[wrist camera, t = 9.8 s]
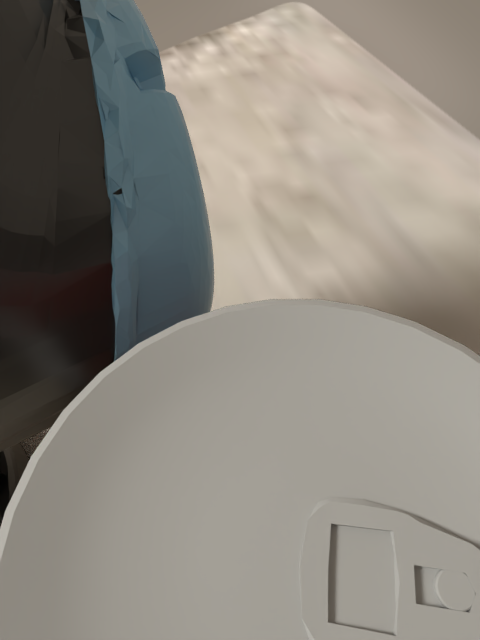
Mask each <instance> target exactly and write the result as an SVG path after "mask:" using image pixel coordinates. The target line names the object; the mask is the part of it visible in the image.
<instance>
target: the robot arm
mask: <svg viewBox="0 0 480 640" xmlns="http://www.w3.org/2000/svg"><path fill="white" fill-rule="evenodd" d="M213 292H214V262H213V249H212V240H211V233H210V226H209V220H208V214H207V209H206V204H205V199H204V193H203V189H202V185H201V180H200V176H199V172H198V167H197V163H196V159H195V155H194V151H193V147H192V144H191V140H190V137H189V133H188V129H187V126H186V123H185V120H184V117H183V114H182V111H181V108H180V106H179V104H178V101H177V99H176V97H175V96H174V95H173V94H171V93H169V92H167V91H166V90H165V79H164V75H163V70H162V65H161V61H160V56H159V51H158V48H157V46H156V44H155V41H154V39H153V37H152V35H151V32H150V30H149V28H148V26H147V24H146V22H145V19H144V17H143V15H142V14H141V12H140V10H139V8H138V7H137V5H136V3H135V2H134V0H0V527H1V524H2V520H3V517H4V514H5V511H6V508H7V506H8V504H9V502H10V500H11V498H12V496H13V494H14V492H15V490H16V487H17V485H18V483H19V481H20V479H21V477H22V475H23V473H24V471H25V469H26V466H27V464H28V462H29V460H28V457H27V455H26V453H25V451H24V449H23V447H22V445H21V444H20V442H21V441H23V440H25V439H27V438H29V437H31V436H33V435H35V434H38V433H40V432H42V431H44V430H46V429H48V428H50V427H52V426H53V424H54V423H55V421H56V420H57V419H58V417H59V416H60V414H61V413H62V411H63V410H64V409H65V408H66V407H67V406H68V405H69V404H70V403H71V402H72V401H73V400H74V399H75V398H76V396H77V395H78V394H79V393H80V392H81V391H82V390H83V389H84V388H85V387H86V386H87V385H88V384H89V383H90V382H91V381H92V380H93V379H94V378H95V377H96V376H97V375H98V374H99V373H100V372H101V371H102V370H104V369H105V368H106V367H108V366H109V365H110V364H112V363H113V362H114V361H116V360H117V359H118V358H120V357H121V356H122V355H124V354H125V353H126V352H128V351H129V350H131V349H132V348H133V347H135V346H136V345H137V344H139V343H140V342H142V341H144V340H146V339H148V338H150V337H152V336H154V335H156V334H158V333H159V332H161V331H163V330H165V329H167V328H169V327H171V326H173V325H175V324H177V323H179V322H181V321H183V320H186V319H189V318H192V317H195V316H199V315H202V314H205V313H208V312H210V310H211V307H212V301H213Z"/></svg>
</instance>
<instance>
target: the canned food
mask: <svg viewBox="0 0 480 640" xmlns="http://www.w3.org/2000/svg"><path fill="white" fill-rule="evenodd" d="M0 640H480V356H479V355H478V354H476V353H475V352H473V351H472V350H470V349H469V348H467V347H466V346H464V345H463V344H460V343H458V342H456V341H454V340H452V339H450V338H448V337H446V336H444V335H442V334H440V333H438V332H436V331H434V330H432V329H429V328H427V327H425V326H423V325H421V324H419V323H417V322H415V321H412V320H408V319H405V318H402V317H399V316H396V315H392V314H389V313H386V312H383V311H379V310H376V309H373V308H370V307H367V306H360V305H354V304H347V303H341V302H334V301H327V300H321V299H270V300H264V301H257V302H251V303H245V304H239V305H232V306H226V307H223V308H220V309H217V310H214V311H211V312H208V313H205V314H202V315H199V316H195V317H192V318H189V319H186V320H183V321H181V322H179V323H177V324H175V325H173V326H171V327H169V328H167V329H165V330H163V331H161V332H159V333H158V334H156V335H154V336H152V337H150V338H148V339H146V340H144V341H142V342H140V343H139V344H137V345H136V346H135V347H133V348H132V349H131V350H129V351H128V352H126V353H125V354H124V355H122V356H121V357H120V358H118V359H117V360H116V361H114V362H113V363H112V364H110V365H109V366H108V367H106V368H105V369H104V370H102V371H101V372H100V373H99V374H98V375H97V376H96V377H95V378H94V379H93V380H92V381H91V382H90V383H89V384H88V385H87V386H86V387H85V388H84V389H83V390H82V391H81V392H80V393H79V394H78V395H77V396H76V398H75V399H74V400H73V401H72V402H71V403H70V404H69V405H68V406H67V407H66V408H65V409H64V410H63V411H62V413H61V414H60V416H59V417H58V419H57V420H56V421H55V423H54V424H53V426H52V427H51V429H50V430H49V431H48V433H47V434H46V436H45V437H44V439H43V440H42V442H41V443H40V444H39V446H38V447H37V449H36V450H35V452H34V453H33V455H32V456H31V458H30V460H29V462H28V464H27V466H26V469H25V471H24V473H23V475H22V477H21V479H20V481H19V483H18V485H17V487H16V490H15V492H14V494H13V496H12V498H11V500H10V502H9V504H8V506H7V508H6V511H5V514H4V517H3V520H2V524H1V527H0Z"/></svg>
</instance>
